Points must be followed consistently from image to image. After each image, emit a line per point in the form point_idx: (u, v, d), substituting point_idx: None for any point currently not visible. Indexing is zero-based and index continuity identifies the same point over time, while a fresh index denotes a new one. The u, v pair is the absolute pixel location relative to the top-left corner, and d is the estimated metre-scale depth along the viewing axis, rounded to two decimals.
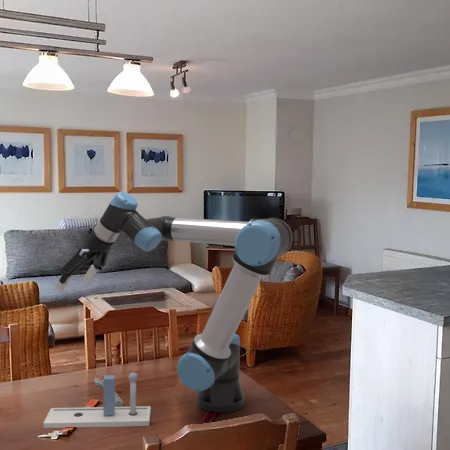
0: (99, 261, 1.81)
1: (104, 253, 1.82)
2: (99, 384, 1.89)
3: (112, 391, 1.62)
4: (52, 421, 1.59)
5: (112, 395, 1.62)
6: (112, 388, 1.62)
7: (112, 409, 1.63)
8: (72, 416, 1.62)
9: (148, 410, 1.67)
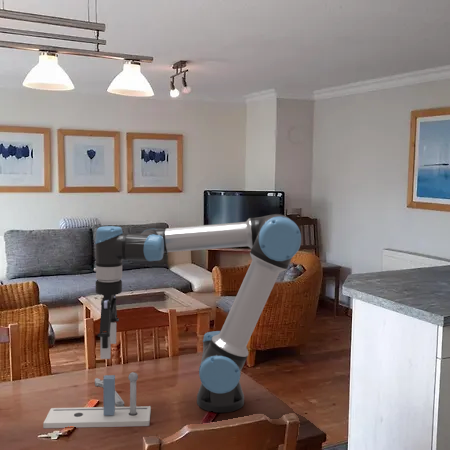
0: (114, 311, 1.67)
1: None
2: (100, 384, 1.88)
3: (112, 391, 1.62)
4: (52, 421, 1.59)
5: (112, 395, 1.62)
6: (112, 388, 1.62)
7: (112, 409, 1.63)
8: (72, 416, 1.62)
9: (148, 410, 1.67)
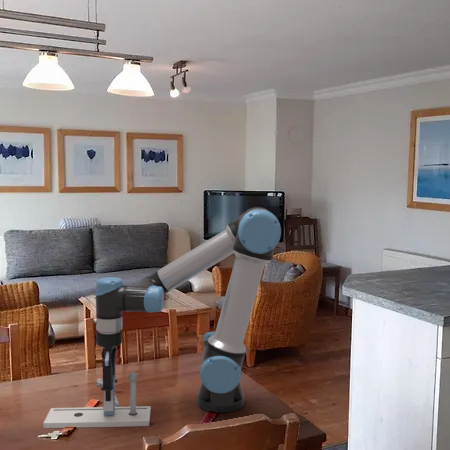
0: (114, 367, 1.65)
1: None
2: (101, 384, 1.88)
3: None
4: (52, 421, 1.59)
5: None
6: None
7: None
8: (72, 416, 1.62)
9: (148, 410, 1.67)
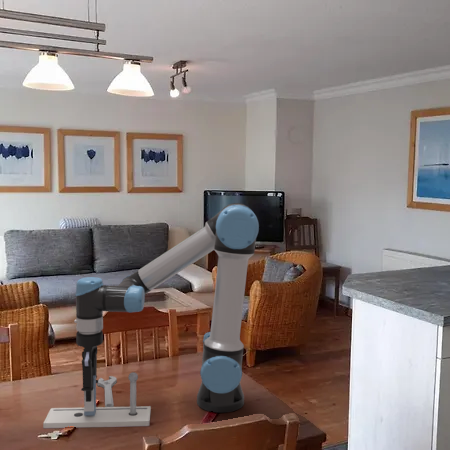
0: (95, 367, 1.65)
1: None
2: (101, 384, 1.88)
3: None
4: (52, 421, 1.59)
5: None
6: (93, 388, 1.62)
7: None
8: (72, 416, 1.62)
9: (148, 410, 1.67)
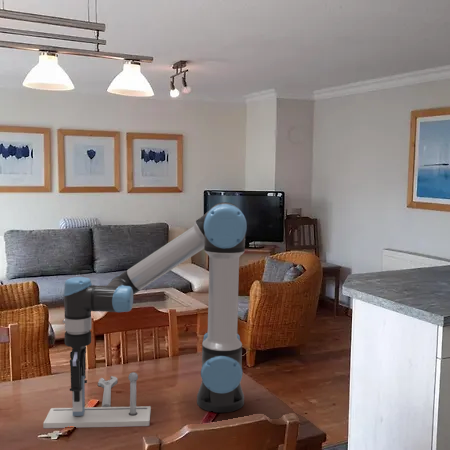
0: (83, 367, 1.64)
1: None
2: (101, 384, 1.88)
3: None
4: (52, 421, 1.59)
5: None
6: None
7: None
8: (72, 416, 1.62)
9: (148, 410, 1.67)
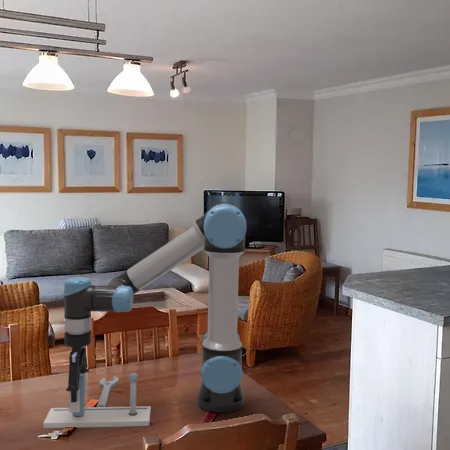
0: (84, 361, 1.67)
1: None
2: (102, 385, 1.88)
3: (81, 392, 1.61)
4: (52, 421, 1.59)
5: (81, 396, 1.61)
6: (81, 389, 1.61)
7: (81, 410, 1.62)
8: (72, 416, 1.62)
9: (148, 410, 1.67)
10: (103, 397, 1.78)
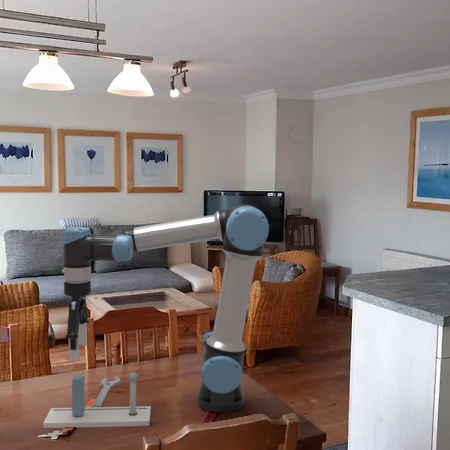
0: (84, 312, 1.65)
1: None
2: (102, 385, 1.88)
3: (81, 392, 1.61)
4: (52, 421, 1.59)
5: (81, 396, 1.61)
6: (81, 389, 1.61)
7: (81, 410, 1.62)
8: (72, 416, 1.62)
9: (148, 410, 1.67)
10: (100, 397, 1.78)
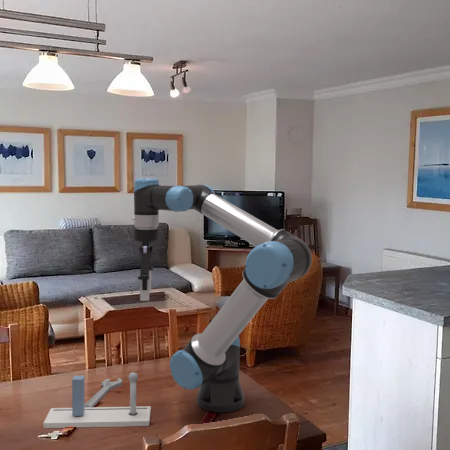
0: (150, 259, 1.78)
1: None
2: (103, 385, 1.88)
3: (81, 392, 1.61)
4: (52, 421, 1.59)
5: (81, 396, 1.61)
6: (81, 389, 1.61)
7: (81, 410, 1.62)
8: (72, 416, 1.62)
9: (148, 410, 1.67)
10: (95, 398, 1.77)
